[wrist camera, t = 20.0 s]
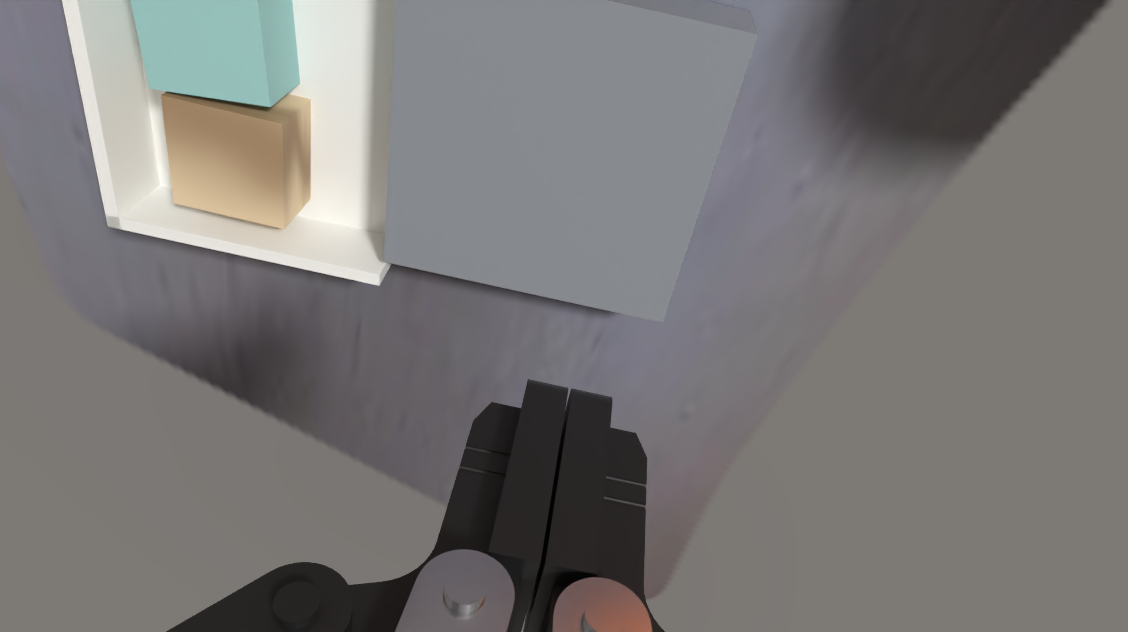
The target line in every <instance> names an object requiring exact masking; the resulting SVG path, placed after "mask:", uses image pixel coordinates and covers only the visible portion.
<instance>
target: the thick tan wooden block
mask: <svg viewBox="0 0 1128 632" xmlns="http://www.w3.org/2000/svg"><path fill="white" fill-rule="evenodd" d="M161 102H162V110H163V118H164V127H165V135H166V143H167V152H168V160H169V168H170V177H171V185H172V193H173V201H174V203H175V204H179V205H183V206H187V207H192V208H196V209H200V210H204V211H209V212H213V213H217V214H222V215H226V216H230V217H234V218H239V219H243V220H247V221H251V222H256V223H260V224H264V225H269V226H273V227H277V228H281V229H285V228H286V227H287V226H288V225H289V224H290V222H291V221H292V220H293V219H294V218H295V217H296V215H297V214H298V213H299V212H300V211H301V210H302V209H303V207H304V206H305V205H306V204H307V203H308V202H309V200H310V199H311V99H308V98H303V97H299V96H295V95H291V94H286V95H285V96H284V97H282V98H281V99H280V100H279V101H278V102H276V103H275V104H274V105H273V106H271V107H266V106H260V105H253V104H247V103H240V102H234V101H227V100H220V99H214V98H207V97H201V96H194V95H188V94H181V93H175V92H168V91H167V92H165V93H164V94H162V95H161Z"/></svg>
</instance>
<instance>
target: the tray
mask: <svg viewBox="0 0 1128 632" xmlns="http://www.w3.org/2000/svg"><path fill="white" fill-rule="evenodd" d="M62 2H63V7H64V12H65V17H66V22H67V27H68V32H69V37H70V42H71V47H72V52H73V56H74V61H75V66H76V71H77V76H78V81H79V86H80V91H81V96H82V101H83V106H84V111H85V116H86V121H87V126H88V131H89V135H90V140H91V145H92V150H93V155H94V160H95V165H96V170H97V175H98V180H99V185H100V190H101V195H102V200H103V205H104V210H105V214H106V219H107V224H108V227H112V228H117V229H121V230H126V231H131V232H135V233H140V234H144V235H149V236H154V237H158V238H163V239H167V240H172V241H177V242H181V243H186V244H190V245H195V246H200V247H204V248H209V249H213V250H218V251H222V252H227V253H232V254H236V255H241V256H245V257H250V258H255V259H259V260H264V261H268V262H273V263H278V264H282V265H287V266H291V267H296V268H301V269H305V270H310V271H314V272H319V273H323V274H328V275H333V276H337V277H342V278H346V279H351V280H356V281H360V282H365V283H369V284H374V285H380V283H381V281H382V280H383V278H384V276H385V274H386V273H387V271H388V269H389V268H390V266H391V264H392V263H387V262H383V259H384V239H385V219H386V199H387V179H388V159H389V139H390V119H391V99H392V79H393V59H394V39H395V19H396V0H292V2H293V13H294V23H295V34H296V44H297V55H298V65H299V76H300V84H299V85H297V86H296V87H295V88H294V89H292V90H291V91H290V92H289V93H287V94H291V95H295V96H299V97H303V98H308V99H311V199H310V200H309V202H308V203H307V204H306V205H305V206H304V207H303V209H302V210H301V211H300V212H299V213H298V214H297V215H296V217H295V218H294V219H293V220H292V221H291V222H290V224H289V225H288V226H287V227H286V228H285V229H281V228H277V227H273V226H269V225H264V224H260V223H256V222H251V221H247V220H243V219H239V218H234V217H230V216H226V215H222V214H217V213H213V212H209V211H204V210H200V209H196V208H192V207H187V206H183V205H179V204H175V203H174V201H173V193H172V185H171V177H170V168H169V160H168V152H167V143H166V135H165V127H164V118H163V110H162V102H161V95H162V94H164V93H165V92H167V91H161V90H155V89H149V85H148V80H147V76H146V71H145V67H144V62H143V57H142V53H141V48H140V43H139V39H138V34H137V30H136V25H135V20H134V16H133V11H132V6H131V2H130V0H62Z"/></svg>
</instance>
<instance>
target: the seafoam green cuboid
mask: <svg viewBox="0 0 1128 632" xmlns="http://www.w3.org/2000/svg"><path fill="white" fill-rule="evenodd" d="M130 2H131V6H132V11H133V16H134V20H135V25H136V30H137V34H138V39H139V43H140V48H141V53H142V57H143V62H144V67H145V71H146V76H147V80H148V85H149V89H155V90H161V91H168V92H175V93H181V94H188V95H194V96H201V97H207V98H214V99H220V100H227V101H234V102H240V103H247V104H253V105H260V106H266V107H271V106H273V105H274V104H275V103H276V102H278V101H279V100H280V99H281V98H282V97H284V96H285V95H286V94H287V93H289V92H290V91H291V90H292V89H294V88H295V87H296V86H297V85H299V84H300V76H299V65H298V55H297V44H296V34H295V23H294V13H293V2H292V0H130Z"/></svg>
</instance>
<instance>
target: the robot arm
mask: <svg viewBox="0 0 1128 632" xmlns="http://www.w3.org/2000/svg"><path fill="white" fill-rule="evenodd" d="M567 394H568V388H566V387H561V386H557V385H552V384H548V383H543V382H538V381H534V380H529V379H528V382H527V386H526V390H525V395H524V399H523V403H522V407H521V408H516V407H512V406H507V405H503V404H498V403H493V402H491V403H490V404H489V405H488V406H487V407H486V408H485V409H484V410H483V411H482V413H481V414H480V415H479V416H478V417H477V418H476V419H475V420H474V421H473V424H472V427H471V430H470V434H469V437H468V440H467V444H466V448H465V450H464V454H463V457H462V460H461V463H460V468H459V470H458V473H457V477H456V480H455V483H454V487H453V490H452V493H451V497H450V500H449V503H448V507H447V510H446V513H445V517H444V520H443V523H442V526H441V530H440V533H439V536H438V540H437V543H436V545H435V548H434V550H433V551H432V553H431V554H430V556H429V557H428V558H427V560H426V561H425V562H424V563H423V564H421V565H420V566H419V567H418V568H417V569H415V570H414V571H412V572H410V573H409V574H407V575H404V576H402V577H400V578H397V579H393V580H389V581H383V582H376V583H365V584H355V585H348V584H347V582H346V581H345V579H344V578H343V577H342V576H341V575H340V574H339V573H337V572H336V571H334V570H333V569H331V568H329V567H327V566H325V565H321V564H317V563H310V562H300V563H293V564H288V565H285V566H282V567H279V568H277V569H274V570H272V571H270V572H269V573H267V574H265V575H263V576H262V577H260V578H258V579H256V580H255V581H253V582H251V583H250V584H248V585H246V586H244V587H243V588H241V589H239V590H237V591H236V592H234V593H232V594H230V595H229V596H227V597H225V598H224V599H222V600H220V601H218V602H217V603H215V604H213V605H212V606H210V607H208V608H206V609H205V610H203V611H201V612H199V613H198V614H196V615H194V616H192V617H191V618H189V619H187V620H186V621H184V622H182V623H180V624H179V625H177V626H175V627H173V628H172V629H170V630H168V631H167V632H521V630H522V627H523V623H524V619H525V624H524V630H523V632H664V630H663V629H662V628H661V627H660V626H659V625H658V623H657V622H656V621H655V619H654V618H653V616H652V614H651V613H650V610H649V608H648V606H647V603H646V599H645V595H644V553H645V517H646V509H645V505H646V480H647V457H646V454H645V452H644V450H643V448H642V446H641V443H640V441H639V439H638V437H637V435H636V433H633V432H628V431H623V430H619V429H614V428H610V423H611V411H612V397H608V396H604V395H599V394H594V393H590V392H585V391H581V390H576V389H571V391H570V395H569V398H568V402H567V406H566V401H567ZM565 407H566V410H565ZM564 413H565V414H564ZM525 616H526V618H525Z"/></svg>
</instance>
